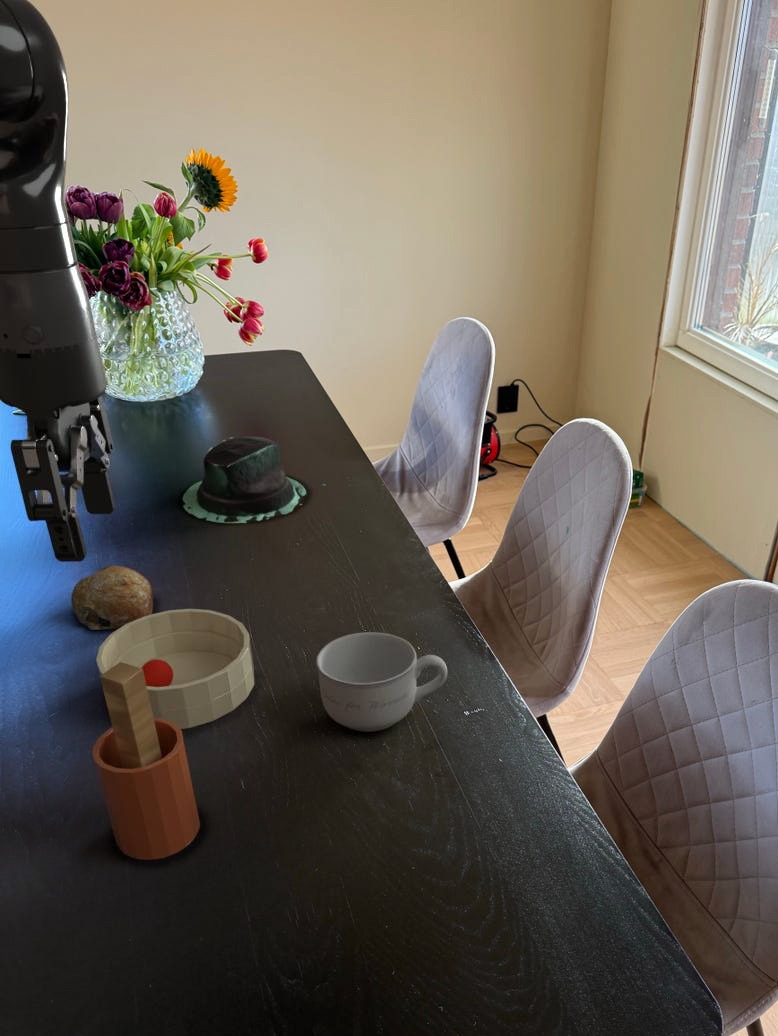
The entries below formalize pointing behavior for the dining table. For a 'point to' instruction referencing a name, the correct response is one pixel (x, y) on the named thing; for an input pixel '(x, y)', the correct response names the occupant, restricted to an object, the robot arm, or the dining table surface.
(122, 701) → the wooden pestle
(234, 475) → the dark fedora hat
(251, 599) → the dining table surface
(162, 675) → the tomato
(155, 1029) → the dining table surface
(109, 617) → the bread roll
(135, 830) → the crock
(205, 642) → the bowl
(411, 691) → the teacup
